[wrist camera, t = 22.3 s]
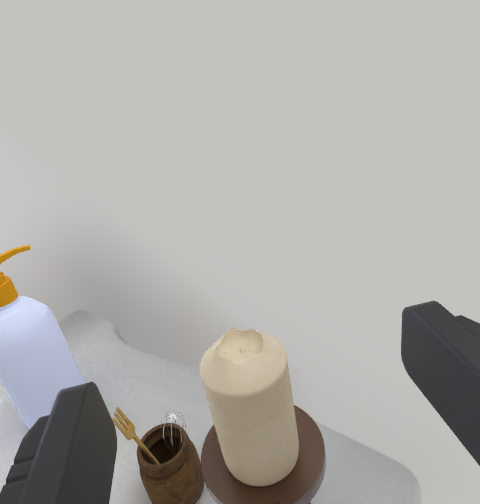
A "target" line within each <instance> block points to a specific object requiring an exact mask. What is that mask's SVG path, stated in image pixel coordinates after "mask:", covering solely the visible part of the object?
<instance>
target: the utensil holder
mask: <svg viewBox="0 0 480 504" xmlns="http://www.w3.org/2000/svg"><path fill="white" fill-rule="evenodd" d="M116 410H117V412H118V413H119V414H120V416H121V417H122V418H123V419H124V421H125V422H126V423H127V424H126V423H125V422H124V421H123V419H122V418H121V417H120V416H119V415H118V414H117V413H116V412H115V413H114V416H115V417H116V418H117V419H118V421H119V422H120V423H121V424H122V426H123V427H124V428H125V429H124V428H123V427H122V426H121V425H120V424H119V422H118V421H117V420H116V419H115V418H112V421H113V422H114V423H115V425H116V426H117V427H118V428H119V430H120V431H121V432H122V433H123V435H124V436H125V437H126V438H127V439H128V440H131V439H132V438H133V439H134V440H135V441H136V442H137V444H138V449H137V458H138V463H139V466H140V475H141V479H142V482H143V484H144V487H145V489H146V491H147V493H148V496H149V498H150V500H151V501H152V503H153V504H194V503H195V502H196V501H197V500H198V498H199V496H200V495H201V492H202V490H203V486H204V476H203V473H202V467H201V462H200V459H199V456H198V453H197V451H196V448H195V446H194V444H193V443H192V442H191V440H190V439H189V437H188V435H187V433H186V432H185V430H184V429H183V428H182V427H181V426H180V425H177V424H176V420H177V419H176V418H175V424H173V423H172V422H171V423H167V420H168V419H169V418H170V417H171V416H172V417H173V416H174V414H175V413H174V414H172V415H171V416H170V417H169V418H168V419H166V422H165V424H162V421H161V425H158V426H156V427H154V428H152V429H151V430H149V431H148V432H147V433H146V434H145V435H144V436H143V438H142V439H141V440H140V439H139V438H138V437H137V436H136V434H135V427H134V425H133V424H132V422H131V421H130V420H129V419H128V418H127V417H126V416H125V415H124V413H123V412H122V411H121V410H120V409H119V408H118V407H116ZM173 412H175V411H173ZM167 413H170V412H167ZM167 413H166V414H167ZM176 413H180V412H176ZM181 414H182V413H181ZM167 416H169V415H167ZM176 416H178V415H176ZM165 417H166V416H165ZM179 417H180V416H179ZM182 417H183V415H182ZM182 417H181V418H182ZM182 419H183V418H182ZM162 420H163V419H162ZM183 420H184V419H183ZM177 422H178V421H177ZM184 422H185V421H184ZM184 422H183V427H184ZM178 424H179V423H178ZM185 429H186V424H185Z"/></svg>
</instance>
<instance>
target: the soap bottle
mask: <svg viewBox="0 0 480 504" xmlns="http://www.w3.org/2000/svg"><path fill="white" fill-rule="evenodd" d="M26 250H30V246H29V245H27V246H23V247H18V248H14V249H11V250H9V251H7V252H5V253H2V254H0V264H1V263H2V262H4V261H5V260H7V259H9V258H10V257H12V256H13V255H15V254H17V253H20V252H23V251H26ZM0 383H1V385H2V386H3V388H4V389H5V391H6V393H7V394H8V396H9V398H10V399H11V401H12V403H13V404H14V406H15V408H16V409H17V411H18V413H19V414H20V416H21V418H22V419H23V421H24V423H25V424H26V426H27V427H28V428H29V429H31V427H32V426H33V425H34V424H35V422H36V421H37V420H38V419H39V417H43V416H47V415H50V412H51V410H52V407H53V404H54V401H55V398H56V396H57V393H58V392H59V391H60V390H61V389H65V388H69V387H73V386H77V385H81V384H85V383H86V382H85V380H84V378H83V376H82V374H81V372H80V370H79V368H78V365H77V363H76V361H75V359H74V357H73V355H72V353H71V350H70V348H69V346H68V344H67V342H66V340H65V338H64V335H63V333H62V331H61V329H60V327H59V325H58V323H57V321H56V318H55V316H54V314H53V313H52V311H51V310H50V309H49V308H48V307H47V306H46V305H45V304H43V303H41V302H38V301H36V300H34V299H32V298H29V297H25V296H23V297H22V296H19V295H18V293H17V291H16V289H15V287H14V285H13V283H12V281H11V279H10V277H8V276H4V274H3V273H2V272H0Z"/></svg>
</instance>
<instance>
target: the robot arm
mask: <svg viewBox="0 0 480 504" xmlns="http://www.w3.org/2000/svg"><path fill="white" fill-rule="evenodd" d="M401 341H402V342H401V356H402V361H403V364H404V366H405V369H406V371H407V373H408V375H409V376H410V378H411V379H412V380H413V382H414V383H415V384H416V385H417V387H418V388H419V389H420V390H421V392H422V393H423V394H424V396H425V397H426V398H427V399H428V400H429V402H430V403H431V404H432V406H433V407H434V408H435V409H436V411H437V412H438V413H439V414H440V416H441V417H442V418H443V420H444V421H445V422H446V423H447V425H448V426H449V427H450V429H451V430H452V431H453V432H454V434H455V435H456V436H457V438H458V439H459V440H460V441H461V443H462V444H463V445H464V446H465V448H466V449H467V450H468V452H469V453H470V454H471V455H472V456H473V458H474V459H475V460H476V462H477V463H478V464H479V465H480V324H479V323H477V322H475V321H473V320H470V319H468V318H466V317H464V316H462V315H460V316H456V317H455V316H454V315H452V314H451V313H450V312H449V311H448V310H446V309H445V308H444V307H443V306H442V305H441V304H439V303H438V302H436V301H431V302H427V303H422V304H418V305H414V306H410V307H406V308H405V309H404V310H403V313H402V340H401ZM116 452H117V436H116V430H115V426H114V423H113V421H112V419H111V416H110V414H109V412H108V410H107V408H106V405H105V403H104V401H103V399H102V396H101V394H100V392H99V390H98V388H97V386H96V384H95V383H93V382H90V383H85V384H81V385H77V386H73V387H69V388H65V389H61V390H60V391H59V392H58V393H57V396H56V398H55V401H54V404H53V407H52V410H51V412H50V415H47V416H43V417H39V419H38V420H37V421H36V422H35V424H34V425H33V426H32V427H31V429H30V430H29V431H28V433H27V434H26V435H25V436H24V438H23V439H22V442H21V444H20V447H19V449H18V452H17V454H16V456H15V459H14V465H12V466H11V469H10V471H9V474H8V476H7V478H6V485H4V486H3V488H2V491H1V493H0V504H109V499H110V493H111V486H112V479H113V472H114V465H115V459H116Z"/></svg>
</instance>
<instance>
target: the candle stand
mask: <svg viewBox="0 0 480 504" xmlns="http://www.w3.org/2000/svg"><path fill="white" fill-rule="evenodd" d="M294 411H295V418H296V425H297V432H298V440H299V454H298V459H297V462H296V464H295V466H294V468H293V469H292V471H291V472H290V473H289V474H288V475H287V476H286V477H285V478H283V479H282V480H280V481H279V482H277V483H274V484H272V485H268V486H251V485H247V484H245V483H242V482H241V481H239V480H238V479H236V478H235V477H234V476H233V475H232V474H231V472H230V471H229V469H228V468H227V466H226V463H225V461H224V457H223V454H222V451H221V447H220V443H219V440H218V436H217V433H216V429H215V426H214V425H213V426H212V428H211V429H210V431H209V433H208V434H207V436H206V439H205V441H204V444H203V448H202V454H201V467H202V473H203V476H204V480H205V483H206V486H207V488H208V490H209V492H210V495H211V496H212V498H213V499H214V500H215V502H216V503H217V504H311V503H309V502H310V501H311V499H312V498H313V497H314V496H315V494H316V493H317V491H318V489H319V487H320V485H321V483H322V480H323V477H324V473H325V466H326V455H325V446H324V441H323V437H322V434H321V432H320V430H319V428H318V426H317V425H316V423H315V422H314V420H313V419H312V418H311V417H310V416H309V415H308V414H307V413H306V412H304V411H303V410H302V409H300V408H298V407H297V406H295V405H294Z"/></svg>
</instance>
